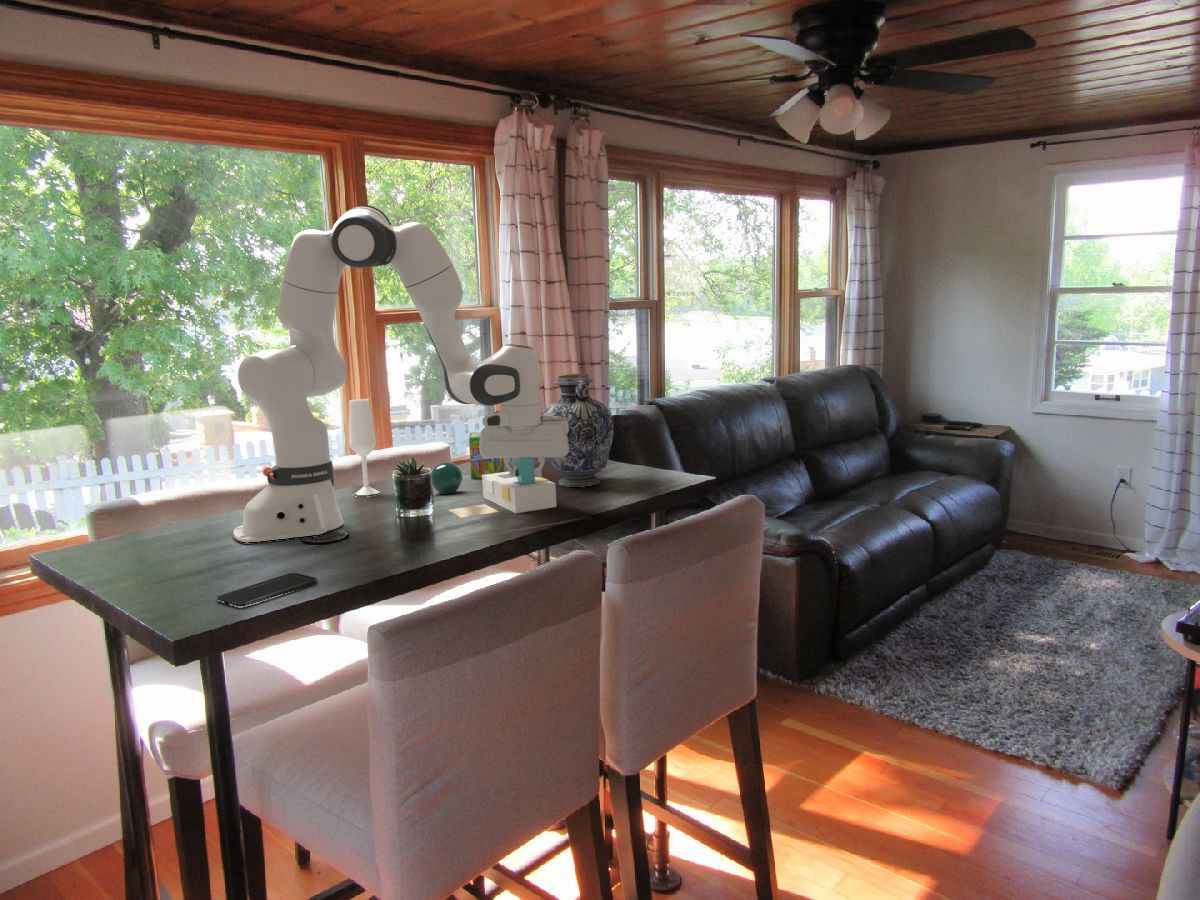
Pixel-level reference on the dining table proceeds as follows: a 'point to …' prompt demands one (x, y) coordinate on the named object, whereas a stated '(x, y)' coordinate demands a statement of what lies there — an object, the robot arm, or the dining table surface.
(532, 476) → the plug
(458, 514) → the coaster
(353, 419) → the champagne flute
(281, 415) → the robot arm
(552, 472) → the dining table surface
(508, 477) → the block
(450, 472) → the sphere
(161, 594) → the dining table surface
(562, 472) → the decorative vase
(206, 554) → the dining table surface
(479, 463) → the chalk box
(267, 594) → the phone
